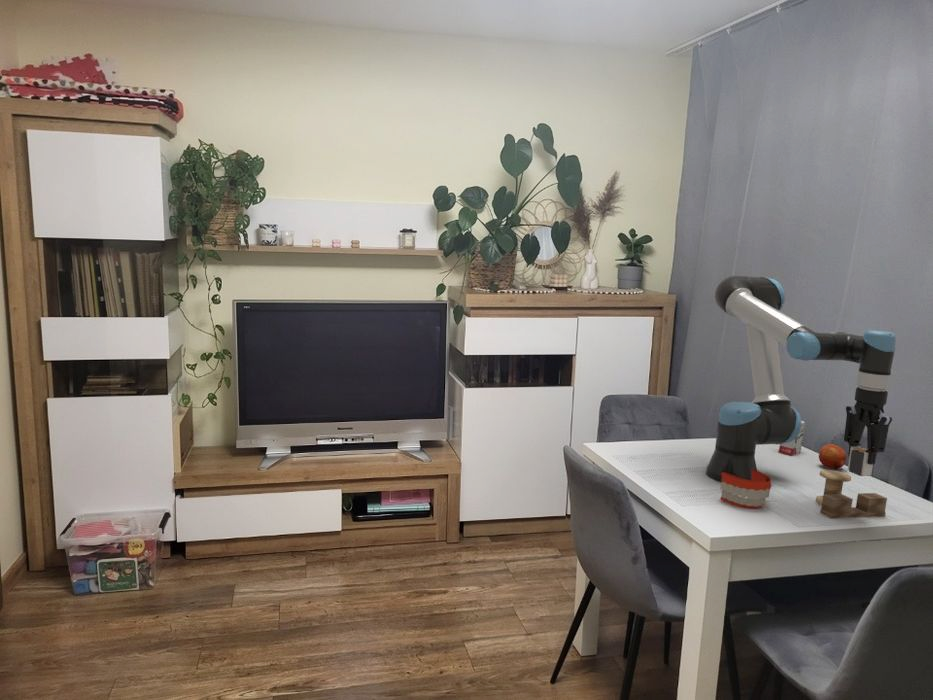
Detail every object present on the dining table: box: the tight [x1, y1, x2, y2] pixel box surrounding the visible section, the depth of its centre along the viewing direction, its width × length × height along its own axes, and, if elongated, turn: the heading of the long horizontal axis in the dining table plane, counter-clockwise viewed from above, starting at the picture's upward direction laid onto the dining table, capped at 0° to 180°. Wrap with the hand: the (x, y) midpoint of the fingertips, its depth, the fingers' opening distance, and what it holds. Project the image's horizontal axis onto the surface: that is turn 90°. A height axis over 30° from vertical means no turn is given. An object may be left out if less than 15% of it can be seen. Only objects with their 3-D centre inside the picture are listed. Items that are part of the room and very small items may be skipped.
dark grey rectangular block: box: [848, 447, 875, 477], centre depth 194 cm, size 4×4×7 cm
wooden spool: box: [815, 469, 852, 506], centre depth 203 cm, size 8×8×9 cm
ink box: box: [778, 420, 806, 457], centre depth 256 cm, size 8×5×12 cm, turn 134°
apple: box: [818, 443, 847, 470], centre depth 240 cm, size 8×8×8 cm
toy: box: [719, 469, 772, 509], centre depth 198 cm, size 12×10×8 cm
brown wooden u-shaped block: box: [819, 492, 888, 519], centre depth 196 cm, size 18×4×5 cm, turn 105°
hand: (859, 472), depth 194 cm, fingers closed on dark grey rectangular block, 4 cm apart
